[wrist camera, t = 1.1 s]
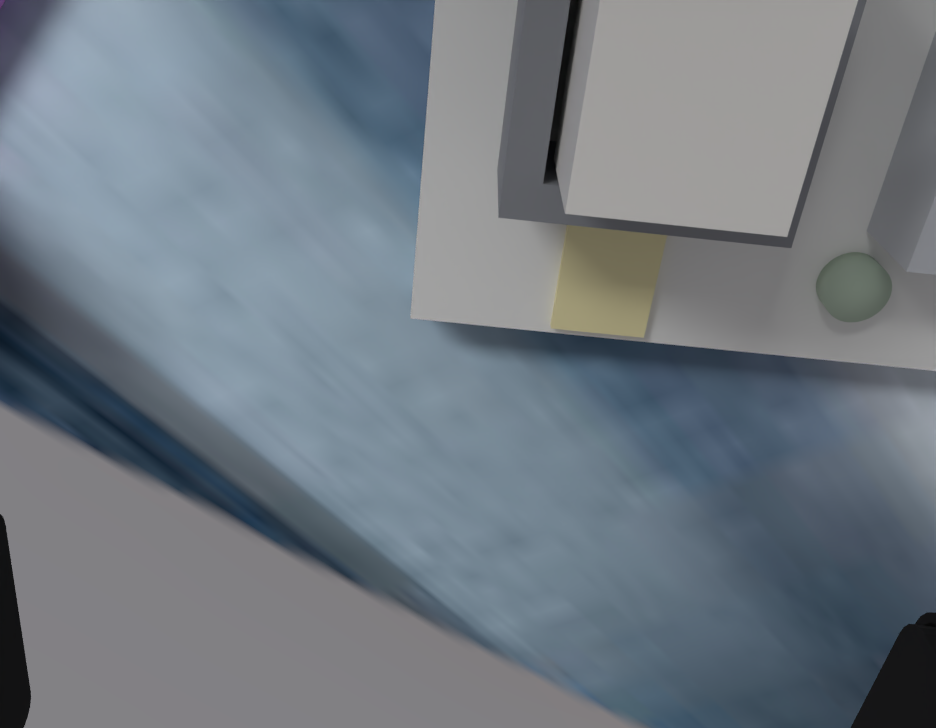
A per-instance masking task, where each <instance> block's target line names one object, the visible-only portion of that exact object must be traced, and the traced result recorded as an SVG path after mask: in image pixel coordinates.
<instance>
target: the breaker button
mask: <svg viewBox="0 0 936 728" xmlns="http://www.w3.org/2000/svg"><path fill="white" fill-rule="evenodd" d="M857 2H858V0H578V4H577V11H576V17H575V24H574V30H573V37H572V43H571V50H570V56H569V63H568V69H567V76H566V82H565V89H564V95H563V102H562V108H561V115H560V121H559V128H558V135H557V141H556V148H555V154H554V163H555V168H556V173H557V178H558V182H559V187H560V192H561V197H562V202H563V207H564V212H565V214H572V215H582V216H591V217H601V218H610V219H620V220H629V221H639V222H648V223H658V224H668V225H677V226H687V227H696V228H706V229H715V230H725V231H734V232H744V233H753V234H763V235H773V236H782V237H787V236H788V232H789V229H790V226H791V222H792V219H793V216H794V212H795V209H796V206H797V202H798V199H799V196H800V192H801V189H802V186H803V182H804V179H805V176H806V172H807V169H808V166H809V162H810V159H811V156H812V152H813V149H814V146H815V142H816V139H817V136H818V132H819V129H820V126H821V122H822V119H823V116H824V112H825V109H826V106H827V102H828V99H829V96H830V92H831V89H832V86H833V82H834V79H835V76H836V72H837V69H838V66H839V62H840V59H841V56H842V52H843V49H844V46H845V42H846V39H847V36H848V32H849V29H850V26H851V22H852V19H853V16H854V12H855V9H856V6H857Z"/></svg>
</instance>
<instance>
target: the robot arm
mask: <svg viewBox="0 0 936 728" xmlns="http://www.w3.org/2000/svg"><path fill="white" fill-rule="evenodd" d="M30 700H31V691H30V685H29V678H28V672H27V665H26V658H25V651H24V645H23V638H22V631H21V625H20V618H19V612H18V605H17V598H16V592H15V585H14V579H13V572H12V565H11V559H10V552H9V546H8V539H7V532H6V525H5V521H4V519H3V517H2V516H1V514H0V728H23V727H24V725H25V722H26V719H27V717H28V713H29V708H30ZM851 728H936V613H926V614H924V615H922V616H921V617H920V618H919V619H918V621H917V622H916V623H915V624H908V625H907V626H905V627H904V628H903V629H902V631H901V632H900V634H899V636H898V637H897V639H896V641H895V643H894V645H893V647H892V649H891V651H890V653H889V655H888V657H887V659H886V661H885V663H884V664H883V666H882V668H881V670H880V672H879V674H878V676H877V678H876V680H875V682H874V684H873V686H872V688H871V690H870V692H869V693H868V695H867V697H866V699H865V701H864V703H863V705H862V707H861V709H860V711H859V713H858V715H857V717H856V719H855V720H854V722H853V724H852V726H851Z"/></svg>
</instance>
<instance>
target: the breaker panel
mask: <svg viewBox="0 0 936 728" xmlns="http://www.w3.org/2000/svg"><path fill="white" fill-rule="evenodd" d="M577 4H578V0H435V11H434V23H433V36H432V49H431V62H430V74H429V87H428V100H427V113H426V125H425V138H424V151H423V164H422V176H421V189H420V202H419V215H418V227H417V240H416V253H415V266H414V278H413V291H412V304H411V317H410V318H411V319H421V320H431V321H441V322H451V323H461V324H471V325H481V326H491V327H501V328H511V329H521V330H531V331H541V332H551V333H561V334H571V335H581V336H591V337H601V338H611V339H621V340H631V341H641V342H651V343H661V344H671V345H680V346H690V347H700V348H710V349H720V350H730V351H740V352H750V353H760V354H770V355H780V356H790V357H800V358H810V359H820V360H830V361H840V362H850V363H860V364H870V365H880V366H890V367H900V368H910V369H920V370H930V371H936V0H858V2H857V6H856V9H855V12H854V16H853V19H852V22H851V26H850V29H849V32H848V36H847V39H846V42H845V46H844V49H843V52H842V56H841V59H840V62H839V66H838V69H837V72H836V76H835V79H834V82H833V86H832V89H831V92H830V96H829V99H828V102H827V106H826V109H825V112H824V116H823V119H822V122H821V126H820V129H819V132H818V136H817V139H816V142H815V146H814V149H813V152H812V156H811V159H810V162H809V166H808V169H807V172H806V176H805V179H804V182H803V186H802V189H801V192H800V196H799V199H798V202H797V206H796V209H795V212H794V216H793V219H792V222H791V226H790V229H789V232H788V236H787V237H782V236H773V235H763V234H753V233H744V232H734V231H725V230H715V229H706V228H696V227H687V226H677V225H668V224H658V223H648V222H639V221H629V220H620V219H610V218H601V217H591V216H582V215H572V214H565V212H564V207H563V202H562V197H561V192H560V187H559V182H558V178H557V173H556V168H555V163H554V154H555V148H556V141H557V135H558V128H559V121H560V115H561V108H562V102H563V95H564V89H565V82H566V76H567V69H568V63H569V56H570V50H571V43H572V37H573V30H574V24H575V17H576V11H577Z"/></svg>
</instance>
